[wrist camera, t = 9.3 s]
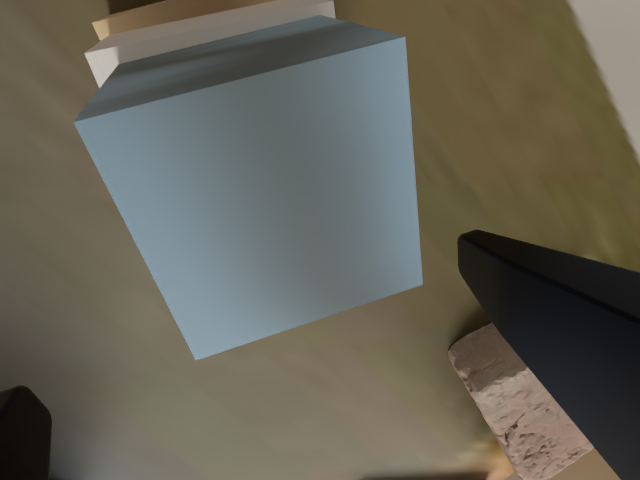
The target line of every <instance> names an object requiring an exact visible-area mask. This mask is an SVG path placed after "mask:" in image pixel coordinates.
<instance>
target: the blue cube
mask: <svg viewBox="0 0 640 480" xmlns="http://www.w3.org/2000/svg"><path fill="white" fill-rule="evenodd" d="M74 124H75V126H76V128H77V130H78V132H79V134H80V136H81V138H82V140H83V142H84V144H85V146H86V148H87V150H88V152H89V154H90V155H91V157H92V159H93V161H94V163H95V165H96V167H97V169H98V171H99V173H100V175H101V177H102V179H103V181H104V183H105V185H106V187H107V189H108V190H109V192H110V194H111V196H112V198H113V200H114V202H115V204H116V206H117V208H118V210H119V212H120V214H121V216H122V218H123V220H124V222H125V224H126V225H127V227H128V229H129V231H130V233H131V235H132V237H133V239H134V241H135V243H136V245H137V247H138V249H139V251H140V253H141V255H142V257H143V258H144V260H145V262H146V264H147V266H148V268H149V270H150V272H151V274H152V276H153V278H154V280H155V282H156V284H157V286H158V288H159V290H160V292H161V293H162V295H163V297H164V299H165V301H166V303H167V305H168V307H169V309H170V311H171V313H172V315H173V317H174V319H175V321H176V323H177V325H178V327H179V328H180V330H181V332H182V334H183V336H184V338H185V340H186V342H187V344H188V346H189V348H190V350H191V352H192V354H193V356H194V358H195V360H199V359H202V358H205V357H208V356H211V355H214V354H217V353H220V352H223V351H226V350H229V349H232V348H235V347H237V346H240V345H243V344H246V343H249V342H252V341H255V340H258V339H261V338H264V337H267V336H270V335H273V334H276V333H279V332H282V331H285V330H288V329H291V328H294V327H297V326H300V325H303V324H306V323H309V322H312V321H315V320H318V319H321V318H324V317H327V316H330V315H333V314H336V313H339V312H342V311H345V310H348V309H351V308H354V307H357V306H360V305H363V304H366V303H369V302H372V301H375V300H378V299H381V298H384V297H387V296H390V295H393V294H396V293H399V292H402V291H405V290H408V289H411V288H414V287H417V286H420V285H423V280H422V266H421V252H420V238H419V223H418V209H417V195H416V181H415V167H414V152H413V138H412V124H411V110H410V96H409V81H408V67H407V53H406V39H405V36H401V35H397V34H393V33H389V32H385V31H381V30H377V29H374V28H370V27H366V26H362V25H358V24H354V23H350V22H346V21H342V20H338V19H334V18H331V17H327V16H323V15H318V16H314V17H309V18H305V19H301V20H297V21H293V22H289V23H285V24H281V25H277V26H273V27H269V28H264V29H260V30H256V31H252V32H248V33H244V34H240V35H236V36H232V37H228V38H224V39H220V40H215V41H211V42H207V43H203V44H199V45H195V46H191V47H187V48H183V49H179V50H175V51H170V52H166V53H162V54H158V55H154V56H150V57H146V58H142V59H138V60H134V61H130V62H126V63H121V64H118V65H117V67H116V68H115V69H114V71H113V72H112V73H111V74H110V76H109V77H108V78H107V80H106V81H105V82H104V83H103V85H102V86H101V87H100V89H99V90H98V91H97V92H96V94H95V95H94V96H93V98H92V99H91V100H90V101H89V103H88V104H87V105H86V107H85V108H84V109H83V110H82V112H81V113H80V114H79V116H78V117H77V118H76V119H75V121H74Z"/></svg>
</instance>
